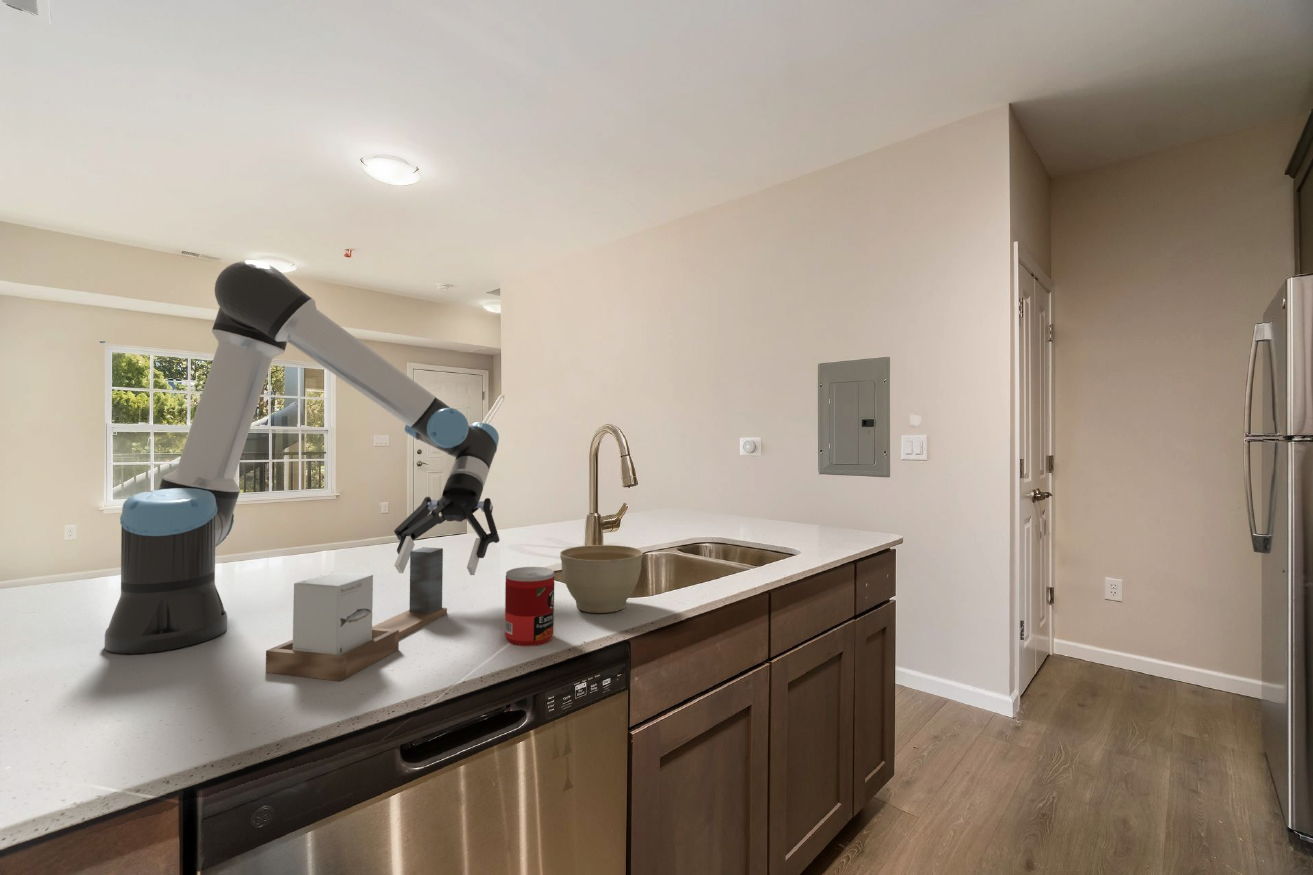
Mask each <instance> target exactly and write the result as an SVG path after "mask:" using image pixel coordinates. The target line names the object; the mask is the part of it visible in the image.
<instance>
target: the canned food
mask: <svg viewBox="0 0 1313 875" xmlns="http://www.w3.org/2000/svg"><path fill="white" fill-rule="evenodd" d="M504 589H505V590H504V591H505V594H504V595H505V597H504V599H505V600H504V612H505V613H504V636H505V640H506V641H507V642H509V644H511V645H514V646H519V647H533V646H539V645H544V644H546V643H548V642H550V641H551V640H552V638H553V635H554V630H555V629H554V628H555V626H554V624H555V622H554V621H555V571H554V570H553V569H551V568H548V567H542V566H523V567H522V566H521V567H515V568H512V569H509V570H507V571H506V572H505V588H504Z"/></svg>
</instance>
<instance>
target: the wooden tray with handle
mask: <svg viewBox="0 0 1313 875" xmlns="http://www.w3.org/2000/svg"><path fill="white" fill-rule="evenodd" d="M443 560H444V548H443V547H420V548H417V549H414V550H412V551H410V557H409V609H408V610H406V611H403V612H402V613H399V614H397V615H394V616H393V617H390V618H388V619H386V620H384V621H382V622H380V623H377V624H375V625H372V640H370V641H368V642H366V643H364V644H362V645H360V646H358V647H356V648H354V649H352V650H350V651H348V652H346V653H344V654H342V655H332V654H323V653H314V652H304V651H295V650H293V639H291V640H288V641H287V642H286V641H285V642H284V643H281V644H278V645H276V646H274V647H272V648H268V649H267V650H265V673H268V674H269V673H270V674H276V675H285V676H292V677H302V678H310V679H317V680H318V679H319V680H327V681H328V680H329V681H336V682H342V681H344V680H345V679H348V678H349V677H352V676H353V675H355V674H356V673H359V672H361V671H362V670H364V669H365V668H367V667H369V666H370V665H373V664H376V663H377V662H378V661H380V660H382V659H384V658H386V657H387V656H390V655H391V654H393V653H395V652H396V651H398V650H399V649H400V648H399V647H400V646H399V645H400V642H399V640H400V639H401V638H402V637H405V636H407V635H409V634H410V633H412V632H414V631H416V630H418V629H420V628H422V627H423V626H425V625H427V624H430V623H432V622H434V621H436V620H437V619H439V618H442V617H443V616H445V615H447V614H448V608H447V607H443V575H444V574H443V572H444V571H443V564H444V561H443Z"/></svg>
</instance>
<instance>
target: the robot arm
mask: <svg viewBox="0 0 1313 875" xmlns="http://www.w3.org/2000/svg"><path fill="white" fill-rule="evenodd" d="M214 297H215V299H216V303H217V305H218V307H219V308H218V310H217V313H216V317H215V319H214V323H213V326H212V329H211V334H213V337H215V339H216V340H217V347H216V350H215V353H214V356H213V360H212V363H211V365H210V368H209V371H208V374H207V377H206V380H205V384H204V386H203V390H202V392H201V394H200V397H199V398H200V399H199V401H198V403H197V404H198V405H197V407H196V410H195V412H194V416H193V418H192V422H191V425H190V428H189V431H188V434H187V437H186V440H185V442H184V446H183V448H182V449H183V450H182V452H181V455H180V458H179V461H178V465H177V468H176V469H175V470H173V471H171V472H169V473H167V474H165V475H163V476H162V478H161V481H160V484H159V486H158V487H159V488H158V489H155V490H150V491H144V492H140V493H139V492H138V493H136V494H133V495H132V496H129V497H128V498H127V499H126V500H125V501H124V502H123V504H122V508H121V509H122V510H121V514H120V516H119V520H120V523H119V524H120V525H121V529H120V530H121V531H120V532H121V536H120V538H121V539H120V540H121V546H120V548H121V549H120V550H121V552H120V597H119V599H118V601H117V604H116V606H115V609H114V611H113V614H112V617H111V619H110V622H109V625H108V627H107V628H106V629H105V632H104V649H105V650H106V651H108V652H110V653H114V654H127V655H129V654H133V655H135V654H146V653H157V652H164V651H168V650H175V649H179V648H185V647H188V646H193V645H196V644H200V643H204V642H205V641H208V640H209V641H210V640H212V639H215V638H216V637H218V636H220V635H222V634H224V633H225V632H226V631H227V630H228V613H227V611H226V610H225V608H224V604H223V601H222V599H221V596H220V593H219V591H218V589H217V586H216V582H215V581H216V548H217V547H218V546H219V545H220V544H221V543H222V542H224V541H225V539H227V536H229V534H230V532H231V531H232V528H233V525H234V518H235V515H234V514H235V513H234V512H235V508H236V505H237V502H238V498H239V495H240V493H241V488H240V486H239V485H238V484H237V482H236V481H235V476H236V472H237V470H238V467H239V464H240V461H241V458H242V454H243V451H244V448H245V445H246V442H247V439H248V436H249V432H250V429H251V426H252V424H253V420H254V416H255V414H256V411H257V407H258V405H259V401H260V398H261V396H262V392H263V388H264V385H265V382H266V380H267V377H268V373H269V370H270V367H271V364H272V361H273V359H274V358H275V357H277V356H280V355H283V354H284V353H285V350H286V348H287V344H288V343H289V344H290V345H292V346H293V347H295V348H296V349H297V350H299V351H300V352H301V353H303V354H305V355H306V356H308V357H309V358H310V359H311V360H313V361H314V362H316V363H318V364H319V365H320V366H322V367H323V368H325V369H326V370H327V371H329V372H330V373H332V374H333V375H335V376H336V377H338V379H341V381H344V382H345V383H346V384H348V385H349V386H350V387H352V388H353V389H355V390H356V391H357V392H359V393H361V394H362V395H363V396H365V397H366V398H368V399H369V400H371V401H372V402H374V403H375V404H377V405H378V406H379V407H381V408H383V410H385V411H386V412H388V413H389V414H391V415H392V416H394V417H396V418H397V419H398V420H399V421H401V422H402V423H404V424H405V425H404V433H406V434H408V435H409V436H411V437H412V438H414V439H416V440H417V441H421V442H423V443H425V444H427V445H428V446H430V447H433V448H435V449H437V450H439V451H442V452H444V453H445V454H447V455H450V456H451V457H453V458H455V459H454V462H453V464H452V467H451V470H450V471H449V474H448V478H447V480H446V482H445V484H444V487H443V490H442V495H441V497H440V498H439V499H438V500H435V499H431V497H430V496H425V497H424V499H423V500H422V501H421V502H422V503H420V505H419V506H418V507H417V508H416V509H414V511H413V512H412V513H410V514H409V516H407V518H405V519H404V520H403V521H402V522H401V523H400V524H399V525H398V526H397V527H395V529H394V534H395V536H396V537H397V539H398V540H399V543H398V545H397V546H398V547H397V548H396V552H397V554H398V556H397V557H396V558H397V559H396V560H395V563H394V567H395V569H396V570H397V572H398V574H404V572H405V570H406V567H407V564H408V562H409V561H410V551H413V549H414V546H415V543H414V541H415V540H416V539H417V540H418V538H420V537H421V536H422V535H423V534H425V533H426V532H428V531H430V530H431V529H432V528H433V527H435V526H437V525H441V524H442V523H444V522H445V521H446V522H454V521H455V522H459V523H460V522H461V523H462V522H463V521H467V522H468V524H469V525H470V526H471V528H472V529H473V530H474V531H475V534H476V535H477V536H478V537H476V538H475V540H474V543H473V546H472V550H471V553H470V556H469V559H468V562H467V566H466V569H467V571H468V573H469V575H470V576H475V575H476V570H477V567H478V566H479V565H478V564H479V560H480V559H484V558H485V557H486V554H487V553H486V552H487V550H488V547H489V544H491V543H495V544H498V543H500V541H501V540H500V536H499V534H498V530H497V526H496V523H495V520H494V517H493V508H494V505H493V503H492V500H491V498H489V497H487V498H485V499H484V501H481V497H482V493H483V490H484V487H485V485H486V482H487V478H488V476H489V472H490V469H491V466H492V463H493V461H494V458H495V455H496V453H497V450H498V445H499V440H500V439H499V438H500V437H499V432H498V431H497V428H495V427H494V426H493V425H491V424H489V423H487V422H485V423H482V422H481V421H477V422H473V423H470V425H469V422H468V419H467V417H466V416H465V414H463V412H461V411H459V410H458V409H456V408H453V407H450V406H449V405H447V404H446V403H445V402H443V400H440V399H439V398H437V397H436V396H435V395H434V394H432V393H431V392H430V391H429V390H427V389H426V388H425V387H423V386H421V385H420V384H419V383H418V382H416V381H415V380H414V379H412V378H411V377H410V376H408V375H407V374H405V373H404V372H403V371H401V370H400V369H399V368H398V367H396V366H395V365H393V364H392V363H390V362H389V361H388V360H386V359H385V358H384V357H382V356H381V355H380V354H378V353H377V351H374V350H373V349H371V348H370V347H369V346H367V345H366V344H365V343H363V342H362V341H360V340H359V339H358V338H356V336H354V335H353V334H351V333H349V332H348V331H347V330H346V329H344V328H343V327H341V325H339V324H338V323H336V322H335V321H334V320H332V319H331V318H329V317H328V316H327V315H325V314H324V313H323V312H321V311H320V310H318V309H317V305H316V300H315V299H314V298H312V297H311V296H309V295H308V294H307V293H305V291H303V290H302V289H300V288H299V287H298V285H296V284H295V283H293V281H291V280H290V279H289V278H288V277H287V276H286V275H285V274H284V273H283V272H281V271H280V270H279V269H276V268H275V267H274V266H272V265H270V264H267V263H266V262H265V263H264V262H261V261H256V260H243V261H242V260H240V261H238V262H235V263H234V262H233V263H232V264H229V265H228V266H225V268H224V269H223V270H222V271H221V272H220V273H219V275H218V276H217V278H216V280H215V283H214ZM479 509H481V512H482V513H484V516H485V519H486V522H487V525H488V529H489V533H487V531H485V530H484V528H483V527H482V524H480V522H479V521H478V519H477V517H475V515H474V513H476V512H477V511H478V510H479ZM440 514H441V515H440Z"/></svg>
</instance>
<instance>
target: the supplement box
mask: <svg viewBox="0 0 1313 875" xmlns="http://www.w3.org/2000/svg"><path fill="white" fill-rule="evenodd" d="M373 585H374V574H370V573H355V572H337V571H336V572H335V571H333V572H329V573H326V574H323V575H318V576H315V577H311V578H307V579H304V580H300V581H297V582H294V583H293V610H292V611H293V614H292V615H293V618H292V640H293V650H295V651H304V652H314V653H323V654H332V655H342V654H344V653H346V652H348V651H350V650H352V649H354V648H356V647H358V646H360V645H362V644H364V643H366V642H368V641H370V640H372V627H373V606H374V605H373V602H374V601H373V595H374V594H373V593H374V586H373Z"/></svg>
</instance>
